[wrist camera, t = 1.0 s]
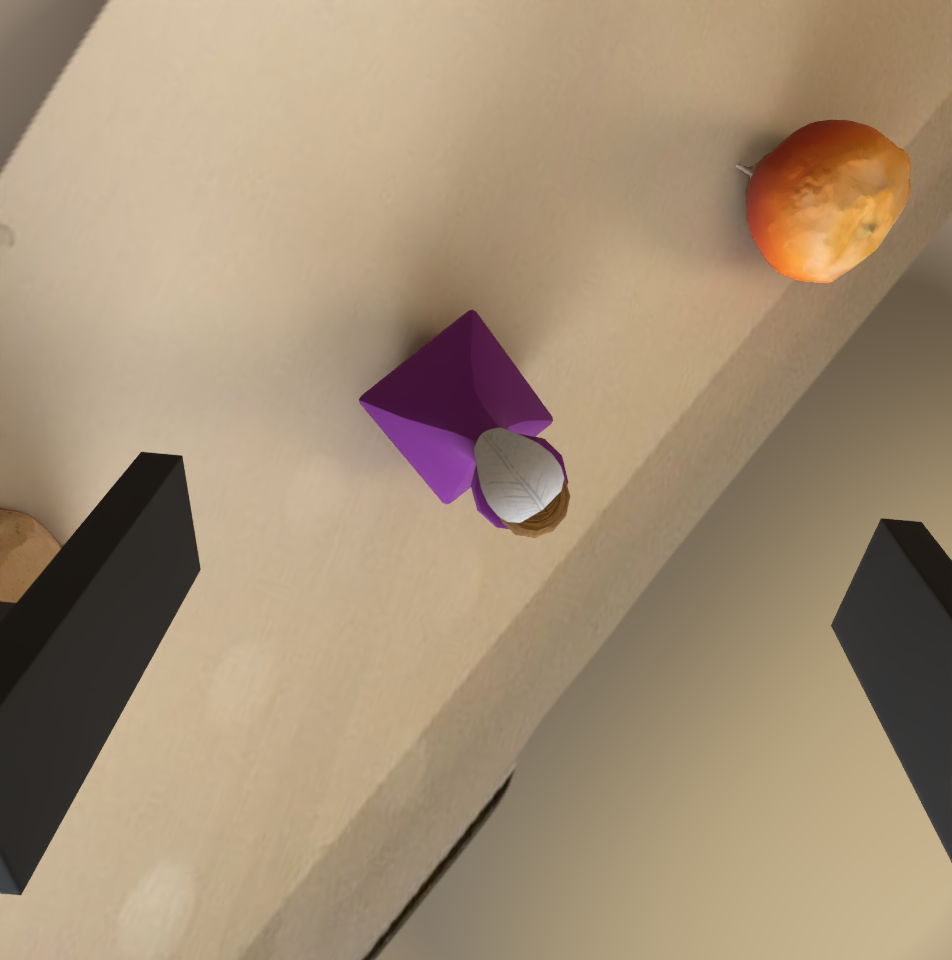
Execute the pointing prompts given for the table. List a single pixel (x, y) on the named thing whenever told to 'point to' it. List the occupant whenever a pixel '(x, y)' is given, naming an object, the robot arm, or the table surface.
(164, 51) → the table surface
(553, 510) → the perfume bottle
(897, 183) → the fruit
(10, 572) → the figurine
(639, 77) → the table surface
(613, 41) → the table surface
